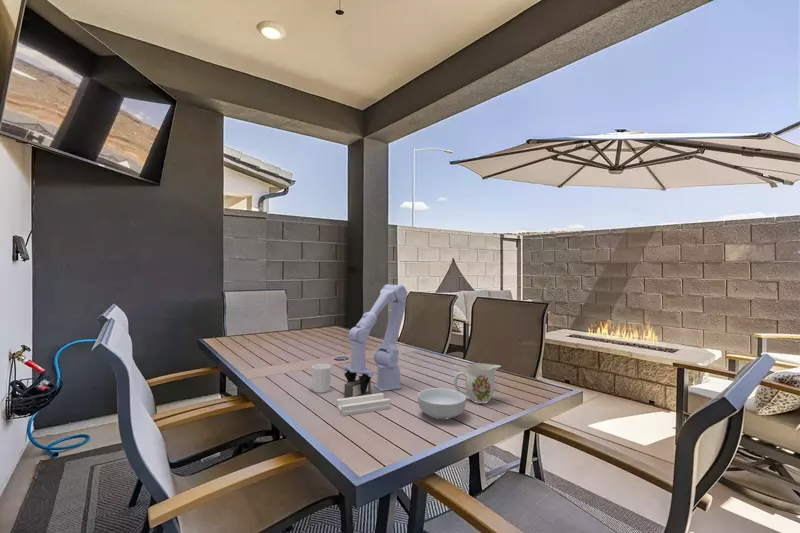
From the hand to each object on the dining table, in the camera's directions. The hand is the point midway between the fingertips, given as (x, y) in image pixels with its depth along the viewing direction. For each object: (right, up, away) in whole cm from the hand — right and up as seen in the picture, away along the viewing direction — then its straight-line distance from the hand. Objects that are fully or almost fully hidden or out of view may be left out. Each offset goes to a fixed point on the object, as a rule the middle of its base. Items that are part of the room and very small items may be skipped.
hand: (357, 391), depth 151 cm
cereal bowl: (+31, -2, -19) cm, 37 cm away
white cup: (-16, -2, +6) cm, 17 cm away
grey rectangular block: (0, -2, 0) cm, 2 cm away
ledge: (+3, -2, -13) cm, 13 cm away
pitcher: (+47, -2, -4) cm, 47 cm away
